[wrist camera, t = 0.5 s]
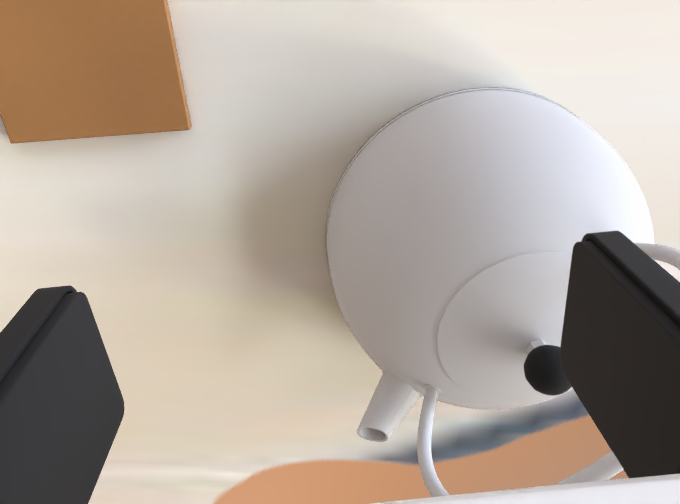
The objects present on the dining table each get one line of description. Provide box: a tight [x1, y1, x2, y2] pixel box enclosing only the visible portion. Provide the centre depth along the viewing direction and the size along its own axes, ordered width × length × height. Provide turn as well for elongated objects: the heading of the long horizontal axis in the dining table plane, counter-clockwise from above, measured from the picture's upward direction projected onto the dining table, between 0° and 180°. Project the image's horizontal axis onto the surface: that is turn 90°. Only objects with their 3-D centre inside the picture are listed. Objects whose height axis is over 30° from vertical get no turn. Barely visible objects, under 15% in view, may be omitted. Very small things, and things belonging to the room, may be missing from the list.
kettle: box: [326, 88, 680, 497], centre depth 33 cm, size 25×23×22 cm
